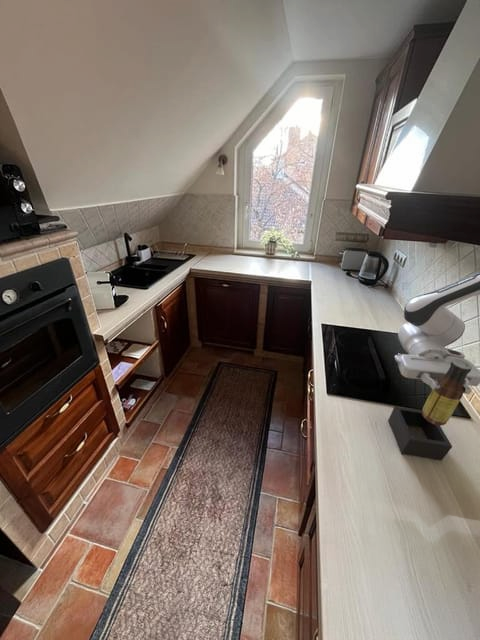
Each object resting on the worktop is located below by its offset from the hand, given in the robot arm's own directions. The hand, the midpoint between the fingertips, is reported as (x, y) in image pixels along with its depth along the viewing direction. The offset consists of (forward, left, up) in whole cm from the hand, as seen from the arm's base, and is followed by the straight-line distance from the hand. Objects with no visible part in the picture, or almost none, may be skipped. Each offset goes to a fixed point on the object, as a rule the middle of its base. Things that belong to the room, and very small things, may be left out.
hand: (452, 390), depth 67 cm
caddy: (0, -3, -25) cm, 25 cm away
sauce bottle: (0, -1, -12) cm, 12 cm away
